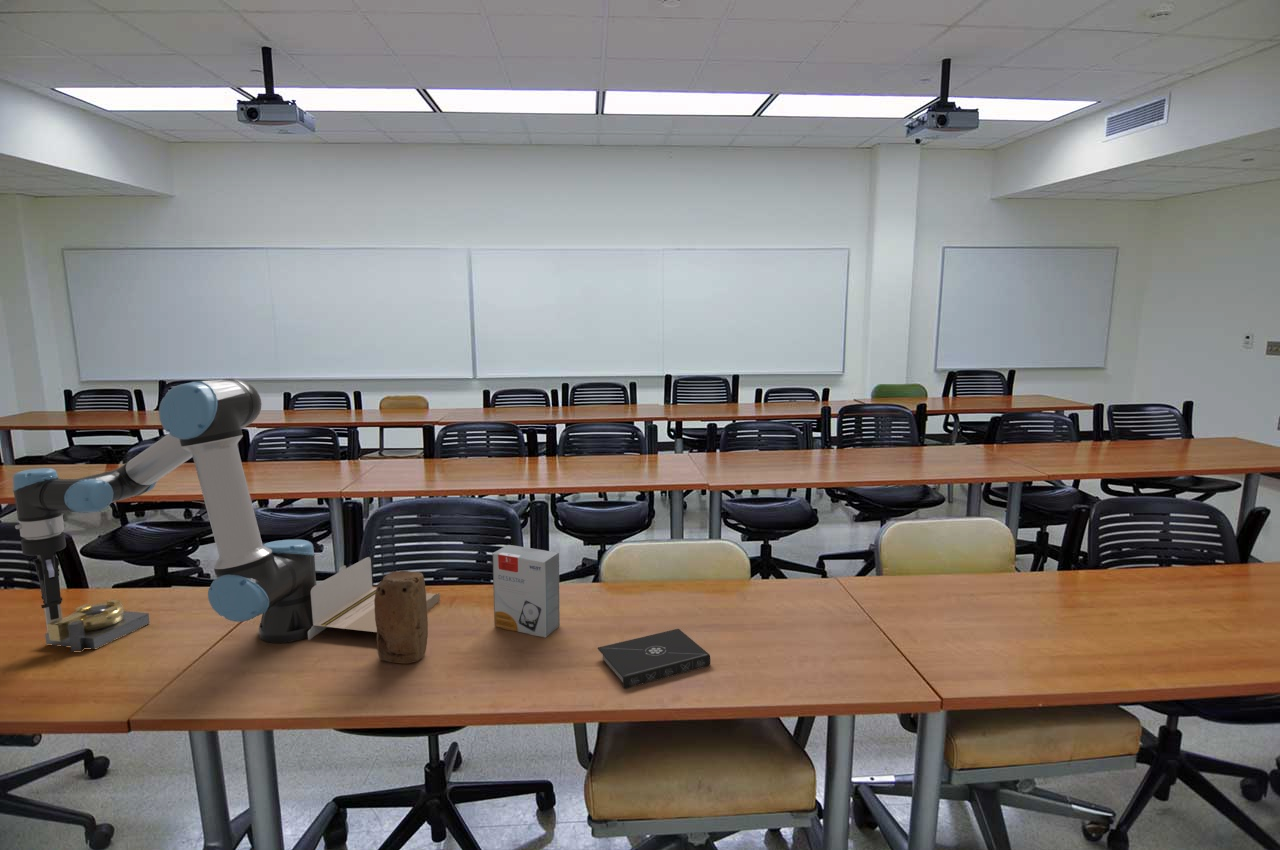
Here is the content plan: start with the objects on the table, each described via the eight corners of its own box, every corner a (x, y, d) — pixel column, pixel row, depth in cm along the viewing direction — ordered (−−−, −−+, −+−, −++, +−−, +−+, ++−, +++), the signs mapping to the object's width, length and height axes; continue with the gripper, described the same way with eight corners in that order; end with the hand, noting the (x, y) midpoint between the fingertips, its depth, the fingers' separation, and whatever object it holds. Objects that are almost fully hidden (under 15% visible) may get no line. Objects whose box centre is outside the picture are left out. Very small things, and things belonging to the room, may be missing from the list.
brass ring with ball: (102, 611, 164) (100, 596, 163) (134, 614, 162) (132, 599, 161) (37, 638, 149) (35, 622, 149) (72, 642, 147) (69, 626, 147)
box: (371, 657, 148) (367, 600, 146) (296, 648, 152) (292, 592, 150) (447, 597, 182) (445, 550, 180) (385, 591, 186) (382, 545, 184)
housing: (149, 624, 164) (146, 598, 163) (85, 654, 149) (82, 626, 148) (104, 619, 167) (101, 594, 166) (37, 649, 151) (33, 621, 150)
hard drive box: (493, 627, 162) (490, 553, 159) (510, 615, 169) (507, 543, 166) (546, 638, 156) (544, 561, 153) (561, 625, 163) (559, 551, 160)
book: (624, 691, 134) (623, 678, 134) (597, 659, 147) (597, 647, 147) (710, 667, 144) (711, 655, 143) (678, 639, 157) (678, 628, 156)
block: (432, 650, 151) (427, 569, 148) (419, 666, 143) (414, 582, 140) (387, 648, 151) (382, 568, 148) (372, 665, 144) (367, 581, 141)
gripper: (16, 533, 149) (30, 627, 152) (24, 545, 141) (38, 644, 144) (59, 525, 155) (71, 617, 158) (69, 536, 146) (81, 633, 150)
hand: (55, 630), depth 151 cm, fingers closed
